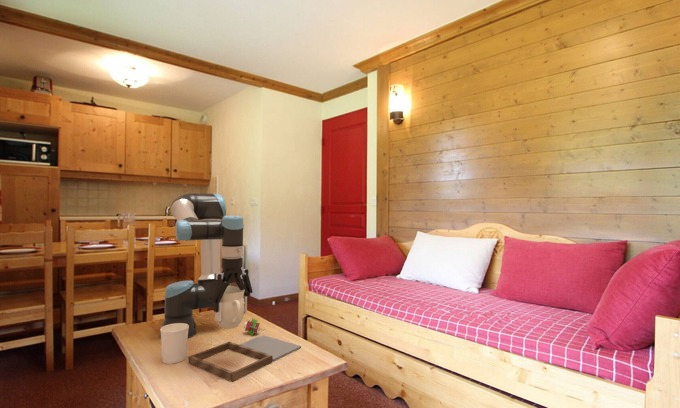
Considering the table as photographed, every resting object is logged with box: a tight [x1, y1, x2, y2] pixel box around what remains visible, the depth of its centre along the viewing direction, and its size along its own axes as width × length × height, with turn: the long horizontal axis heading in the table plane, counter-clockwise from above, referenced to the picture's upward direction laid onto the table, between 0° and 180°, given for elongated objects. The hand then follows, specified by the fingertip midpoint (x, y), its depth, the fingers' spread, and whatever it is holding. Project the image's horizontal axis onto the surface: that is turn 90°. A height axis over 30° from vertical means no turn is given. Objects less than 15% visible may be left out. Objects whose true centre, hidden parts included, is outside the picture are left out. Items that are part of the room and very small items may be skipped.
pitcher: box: [213, 284, 245, 330], centre depth 132 cm, size 11×18×14 cm, turn 36°
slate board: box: [238, 334, 302, 362], centre depth 146 cm, size 22×16×1 cm
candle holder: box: [159, 323, 189, 365], centre depth 135 cm, size 10×10×12 cm
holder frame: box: [187, 341, 273, 383], centre depth 132 cm, size 24×18×2 cm
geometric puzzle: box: [243, 317, 261, 337], centre depth 163 cm, size 7×7×8 cm
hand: (231, 316), depth 132 cm, fingers closed on pitcher, 11 cm apart
